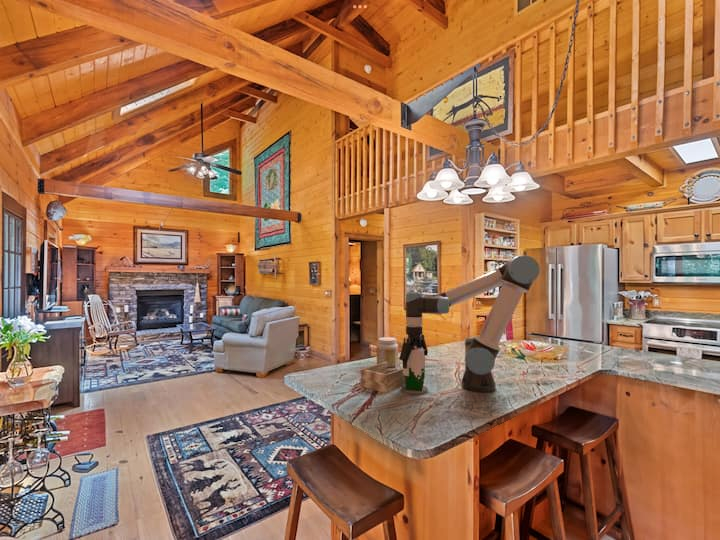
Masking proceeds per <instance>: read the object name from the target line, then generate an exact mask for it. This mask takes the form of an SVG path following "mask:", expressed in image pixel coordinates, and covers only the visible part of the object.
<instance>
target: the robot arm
mask: <svg viewBox="0 0 720 540" xmlns="http://www.w3.org/2000/svg"><path fill="white" fill-rule="evenodd" d="M540 270H541V269H540V265H539V262H538V261H537V260H536V259H535V258H534V257H532V256H530V255H528V254H519V255H516V256H514V257H512V258H510V259H509V260H507V261H506V262H504V263H503V264H501V265H498V266H497V267H495V269H494V270H493V271H490V272H488V273H486V274H485V273H484V274H483V275H481V276H478V277H476V278H474V279H471V280H469V281H467V282H465V283H462V284H460V285H457V286H456V287H453V288H451V289H448V290H446V291H444V292H441V293H438V294H436V295H433V296H423V293H422V292H419V291H415V292H413V291H409V292H407V293H406V295H405V325H406V326H405V334H406V335H407V337H404V338H403V343H402V347H401V351H400V355H399V357H398V360H399V361H402V368H403V375H405V376H409V361H408V358H409V356H410V354H411V351H412V349H413V348H414V347H418V348H423V350H424V358H425V359H426V356H428V353H429V351H428V348H427V347H428V346H427V344H426V341H425V340H426V339H425V335H424V334H423V314H435V315H436V314H438V315H439V314H440V315H442V314H443V315H444V314H445V315H446V314H449V312H450V307H452V306H454V305H458V304H460V303H463V302H464V301H467V300H470V299H472V298H474V297H477V296H480V295H481V294H484V293H486V292H489V291H491V290H494V289H496V288H498V287H501V288H500V289H499V293H498V294H497V296H496V298H495V301H494V302H493V305H492V306H491V309H490V311H489V313H488V315H487V317H486V319H485V321H484V323H483V326H482V328H481V329H480V332H479V333H478V335H475V336H473V337H466V338H465V341H464V349H465V351H464V352H465V354H464V362H465V363H464V366H465V370H464V373H463V376H462V377H461V387H463V389H466V390H468V391H471V392H472V391H473V392H480V393H488V392H489V393H490V392H493V391H495V390H496V385H497V384H496V381H495V378H494V375H493V373H492V370H493V369H494V368H495V364H496V359H497V356H498V354H499V352H500V350H501V349H500V345H499V344H500V342H501V339H502V337H503V336H504V333H505V332H506V329H507V327H508V325H509V323H510V321H511V319H512V318H513V315H514V314H515V310H516V309H517V306H518V304H519V303H520V300H521V298H522V296H523V294H525V293H528V292H529V290H531V289H530V288H531V287H532V286H533V283H534V281H536V279H538V277H539V275H540ZM409 344H410V345H409Z"/></svg>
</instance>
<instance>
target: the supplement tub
mask: <svg viewBox="0 0 720 540" xmlns="http://www.w3.org/2000/svg"><path fill="white" fill-rule="evenodd" d="M377 342H378V343H377V344H376V365H377V364H380V363H383V362H387V372H394V371H397V370H399V344H398V343H397V342H398V341H397V338H396V337H389V336H386V337H385V336H384V337H378V340H377Z"/></svg>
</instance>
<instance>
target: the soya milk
mask: <svg viewBox="0 0 720 540" xmlns="http://www.w3.org/2000/svg"><path fill="white" fill-rule="evenodd" d="M409 345H410V344H409ZM408 361H409V376H405V384H406V390H415V391H422V389H423V386H424V382H425V375H426V373H425V372H426V371H425V370H426V357H425V358H424V350H423V348H418V347H416V346H415V347H414V348H413V349H412V351H411V354H410V356H409V358H408Z"/></svg>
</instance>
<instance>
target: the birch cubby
mask: <svg viewBox="0 0 720 540" xmlns="http://www.w3.org/2000/svg"><path fill="white" fill-rule="evenodd" d="M404 385H406V384H405V375H403V367H401V368H400V369H399V368H398V369H396V370H394V371H390V372H388V371H387V362H383V363H380V364H377V363H376V364H374V365H370V366H367V367H364V368H361V369H360V387H363V388H365V389H366V388H367V389H370V390H373V391H377V392H380V393H384V394H388V393H391V392H393V391H395V390H397V389H399V388H400V389H401V387H402V386H404Z"/></svg>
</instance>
